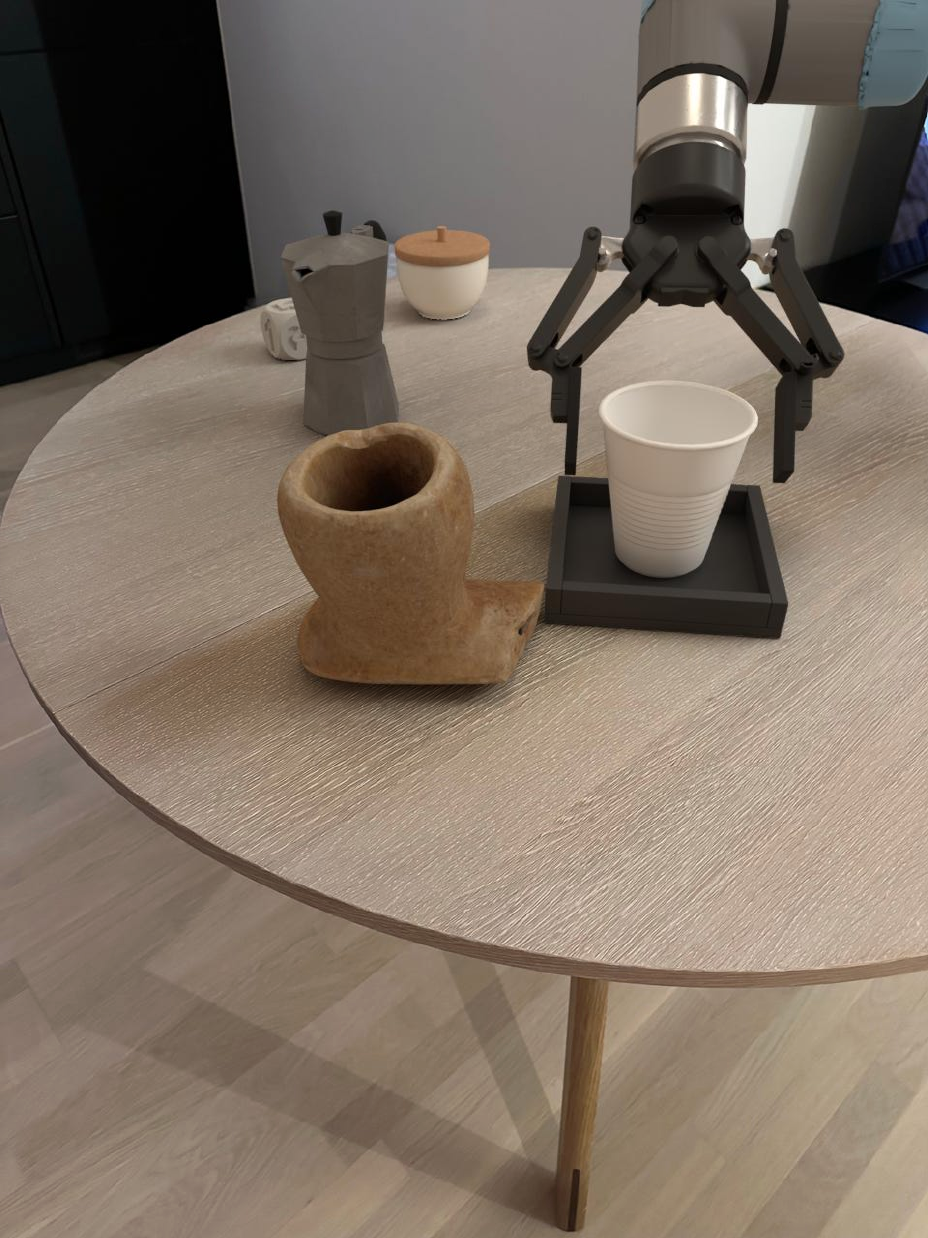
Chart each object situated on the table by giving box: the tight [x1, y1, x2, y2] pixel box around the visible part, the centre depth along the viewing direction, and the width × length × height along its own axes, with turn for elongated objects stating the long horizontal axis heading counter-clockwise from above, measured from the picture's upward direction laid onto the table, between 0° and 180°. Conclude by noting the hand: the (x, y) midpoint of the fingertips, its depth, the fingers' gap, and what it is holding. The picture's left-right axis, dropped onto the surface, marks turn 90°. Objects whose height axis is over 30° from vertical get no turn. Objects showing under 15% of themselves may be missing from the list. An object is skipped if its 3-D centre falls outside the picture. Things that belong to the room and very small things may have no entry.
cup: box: [597, 379, 759, 578], centre depth 62 cm, size 10×10×11 cm
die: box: [260, 297, 307, 361], centre depth 98 cm, size 5×5×5 cm
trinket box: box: [393, 225, 491, 321], centre depth 106 cm, size 11×11×9 cm
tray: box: [543, 475, 789, 640], centre depth 65 cm, size 15×15×3 cm
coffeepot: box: [280, 209, 400, 436], centre depth 82 cm, size 15×9×18 cm, turn 159°
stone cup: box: [276, 422, 546, 685], centre depth 53 cm, size 15×12×15 cm
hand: (675, 473), depth 60 cm, fingers open, 13 cm apart
